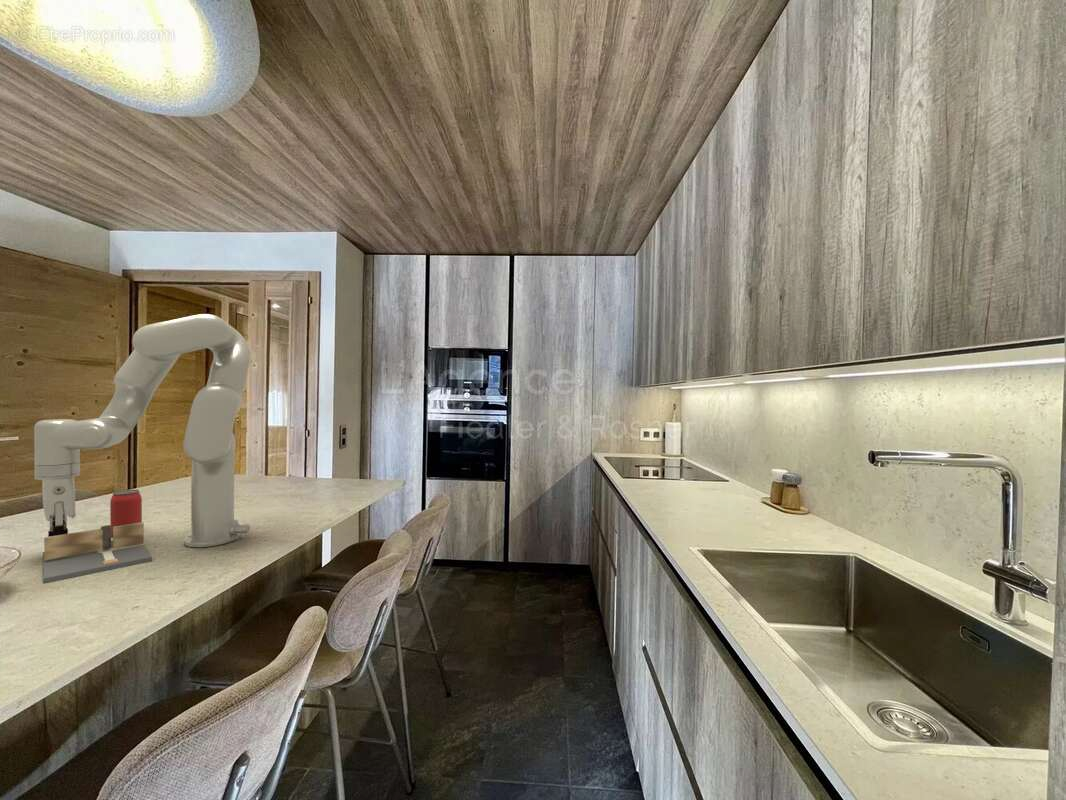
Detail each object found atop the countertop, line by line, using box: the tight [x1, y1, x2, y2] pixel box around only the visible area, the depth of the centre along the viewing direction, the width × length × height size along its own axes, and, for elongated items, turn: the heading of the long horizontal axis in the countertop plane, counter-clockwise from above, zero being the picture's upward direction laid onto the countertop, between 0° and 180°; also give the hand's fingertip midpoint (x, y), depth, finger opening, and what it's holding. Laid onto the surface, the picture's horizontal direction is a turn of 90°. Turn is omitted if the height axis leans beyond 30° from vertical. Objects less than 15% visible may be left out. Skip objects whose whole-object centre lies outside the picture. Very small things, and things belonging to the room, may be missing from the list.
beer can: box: [109, 489, 143, 537], centre depth 127 cm, size 7×7×12 cm
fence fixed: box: [112, 521, 145, 549], centre depth 114 cm, size 6×1×6 cm, turn 138°
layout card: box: [42, 539, 153, 584], centre depth 109 cm, size 18×22×1 cm
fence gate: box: [43, 524, 112, 560], centre depth 108 cm, size 11×2×6 cm, turn 138°
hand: (58, 546), depth 109 cm, fingers closed
